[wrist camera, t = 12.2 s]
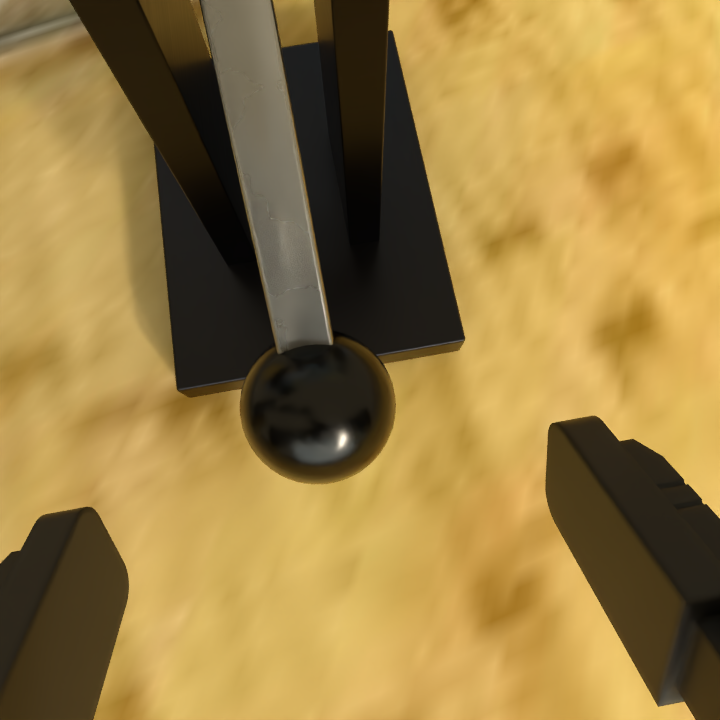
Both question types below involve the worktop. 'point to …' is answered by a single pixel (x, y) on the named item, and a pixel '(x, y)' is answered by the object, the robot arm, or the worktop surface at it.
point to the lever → (290, 273)
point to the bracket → (322, 176)
